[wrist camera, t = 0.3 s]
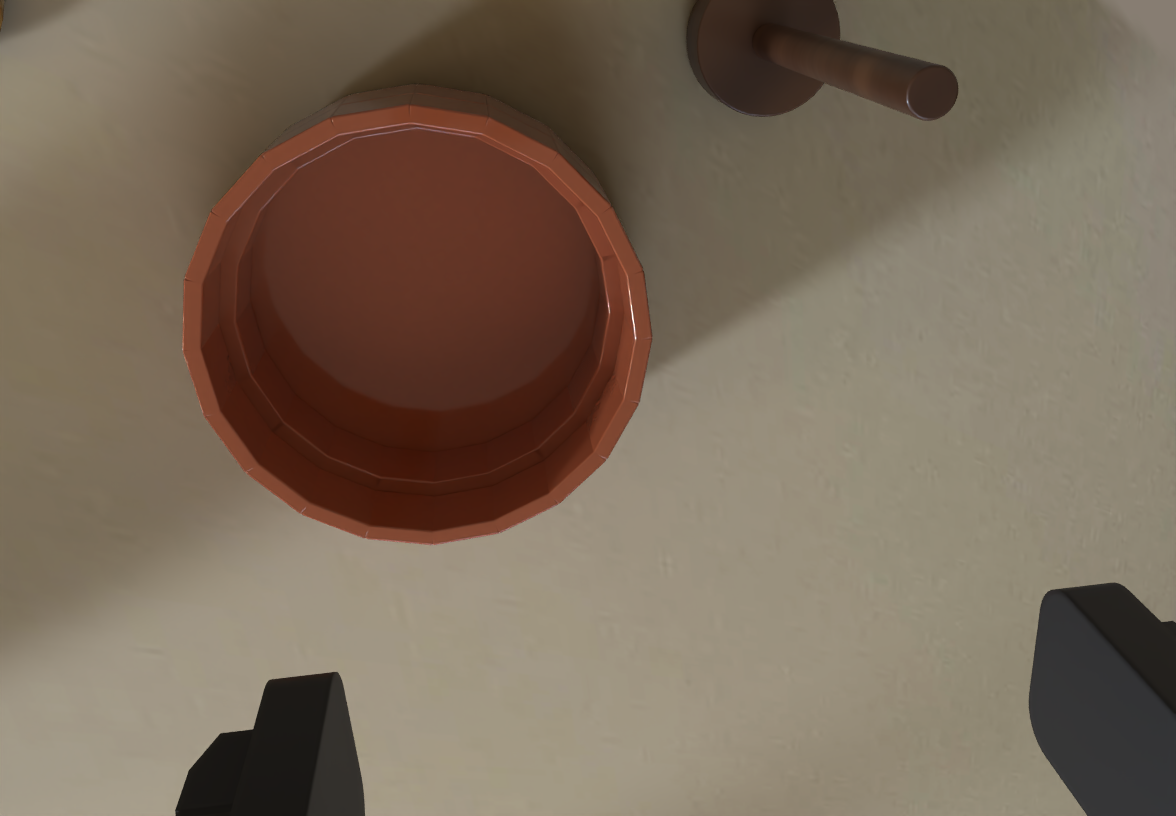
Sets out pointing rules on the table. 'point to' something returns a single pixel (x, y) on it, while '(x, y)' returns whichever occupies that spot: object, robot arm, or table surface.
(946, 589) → the table surface
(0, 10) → the pastry
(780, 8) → the brown plunger
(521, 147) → the mixing bowl
